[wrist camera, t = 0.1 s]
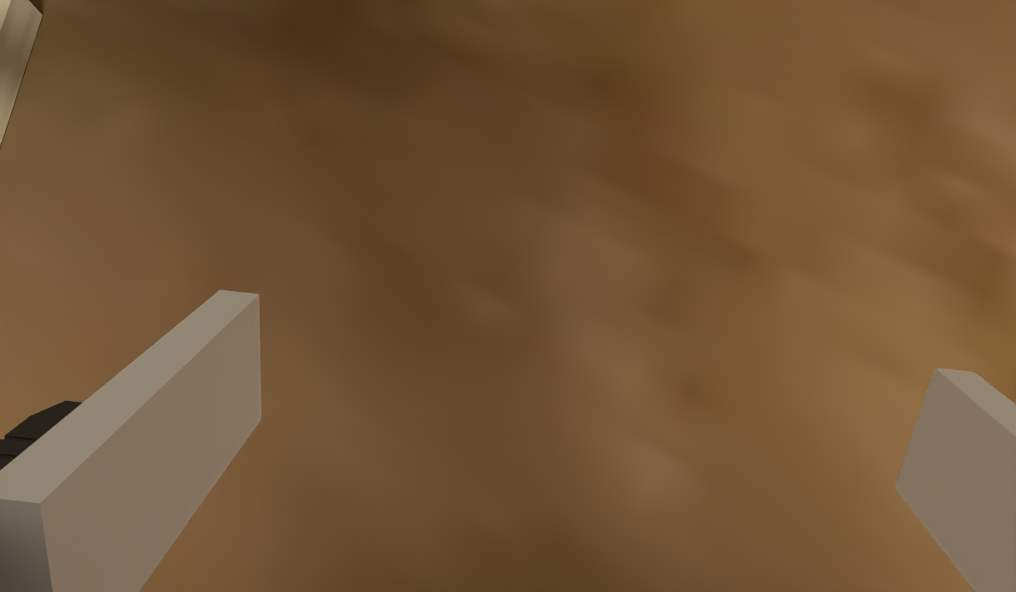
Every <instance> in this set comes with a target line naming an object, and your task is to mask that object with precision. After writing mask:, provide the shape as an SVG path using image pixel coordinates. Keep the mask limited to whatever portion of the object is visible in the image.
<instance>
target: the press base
mask: <svg viewBox="0 0 1016 592" xmlns="http://www.w3.org/2000/svg"><path fill="white" fill-rule="evenodd" d="M42 16H43V15H42V14H41V13H40V12H39V11H38V10H37V9H36V8H35V6H34V5H33V4H32V3H31V2H30V1H29V0H0V146H1V142H2V139H3V136H4V133H5V130H6V127H7V124H8V121H9V118H10V115H11V112H12V108H13V105H14V102H15V99H16V96H17V93H18V90H19V87H20V84H21V81H22V78H23V75H24V71H25V68H26V65H27V62H28V59H29V56H30V53H31V50H32V47H33V44H34V41H35V37H36V34H37V31H38V28H39V25H40V22H41V19H42Z"/></svg>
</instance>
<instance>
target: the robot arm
mask: <svg viewBox="0 0 1016 592" xmlns="http://www.w3.org/2000/svg"><path fill="white" fill-rule="evenodd" d="M260 420H261V365H260V306H259V294H253V293H244V292H235V291H226V290H219V291H218V292H217V293H215V294H214V295H213V296H212V297H211V298H209V299H208V300H207V301H206V302H205V303H203V304H202V305H201V306H200V307H198V308H197V309H196V310H195V311H194V312H192V313H191V314H190V315H189V316H187V317H186V318H185V319H184V320H183V321H181V322H180V323H179V324H178V325H177V326H175V327H174V328H173V329H172V330H170V331H169V332H168V333H167V334H166V335H164V336H163V337H162V338H161V339H160V340H158V341H157V342H156V343H155V344H153V345H152V346H151V347H150V348H149V349H147V350H146V351H145V352H144V353H143V354H141V355H140V356H139V357H138V358H136V359H135V360H134V361H133V362H132V363H130V364H129V365H128V366H127V367H126V368H124V369H123V370H122V371H121V372H119V373H118V374H117V375H116V376H115V377H113V378H112V379H111V380H110V381H108V382H107V383H106V384H105V385H104V386H102V387H101V388H100V389H99V390H98V391H96V392H95V393H94V394H93V395H91V396H90V397H89V398H88V399H87V400H85V401H84V402H83V403H81V402H72V401H64V402H62V403H59V404H57V405H55V406H52V407H50V408H48V409H45V410H43V411H41V412H38V413H36V414H34V415H31V416H30V417H28V418H27V419H26V420H24V421H23V422H22V423H21V424H19V425H18V426H17V427H15V428H14V429H13V430H11V431H10V432H9V433H7V434H6V435H5V438H4V440H2V439H0V592H139V591H140V590H141V588H142V587H143V586H144V584H145V583H146V581H147V580H148V579H149V577H150V576H151V574H152V573H153V572H154V570H155V569H156V567H157V566H158V564H159V563H160V562H161V560H162V559H163V557H164V556H165V555H166V553H167V552H168V550H169V549H170V547H171V546H172V545H173V543H174V542H175V540H176V539H177V538H178V536H179V535H180V533H181V532H182V531H183V529H184V528H185V526H186V525H187V523H188V522H189V521H190V519H191V518H192V516H193V515H194V514H195V512H196V511H197V509H198V508H199V507H200V505H201V504H202V502H203V501H204V499H205V498H206V497H207V495H208V494H209V492H210V491H211V490H212V488H213V487H214V485H215V484H216V482H217V481H218V480H219V478H220V477H221V475H222V474H223V473H224V471H225V470H226V468H227V467H228V466H229V464H230V463H231V461H232V460H233V458H234V457H235V456H236V454H237V453H238V451H239V450H240V449H241V447H242V446H243V444H244V443H245V441H246V440H247V439H248V437H249V436H250V434H251V433H252V432H253V430H254V429H255V427H256V426H257V425H258V423H259V422H260ZM895 489H896V491H897V492H898V493H899V495H900V496H901V497H902V498H903V500H904V501H905V502H906V504H907V505H908V506H909V508H910V509H911V510H912V511H913V513H914V514H915V515H916V517H917V518H918V519H919V520H920V522H921V523H922V524H923V526H924V527H925V528H926V529H927V531H928V532H929V533H930V535H931V536H932V537H933V538H934V540H935V541H936V542H937V544H938V545H939V546H940V548H941V549H942V550H943V551H944V553H945V554H946V555H947V557H948V558H949V559H950V560H951V562H952V563H953V564H954V566H955V567H956V568H957V569H958V571H959V572H960V573H961V575H962V576H963V577H964V578H965V580H966V581H967V582H968V584H969V585H970V586H971V588H972V589H973V590H974V591H975V592H1016V404H1014V403H1013V402H1012V401H1010V400H1009V399H1008V398H1007V397H1005V396H1004V395H1003V394H1002V393H1000V392H999V391H998V390H997V389H995V388H994V387H993V386H991V385H990V384H989V383H988V382H986V381H985V380H984V379H983V378H981V377H980V376H979V375H977V374H976V373H975V372H969V371H960V370H950V369H941V368H935V369H934V372H933V375H932V378H931V381H930V384H929V387H928V390H927V393H926V396H925V399H924V402H923V405H922V408H921V411H920V414H919V417H918V420H917V423H916V426H915V429H914V432H913V435H912V438H911V441H910V444H909V447H908V450H907V452H906V455H905V458H904V461H903V464H902V467H901V470H900V473H899V476H898V479H897V482H896V485H895Z"/></svg>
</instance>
